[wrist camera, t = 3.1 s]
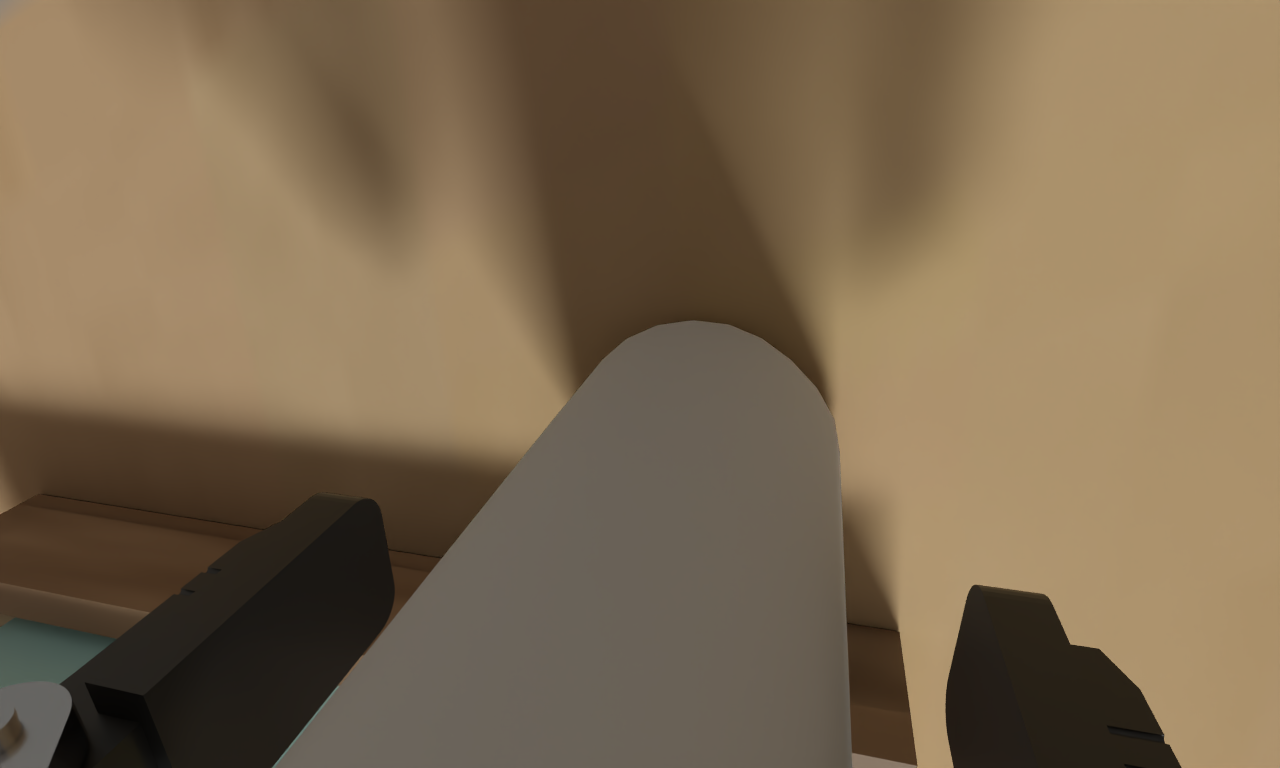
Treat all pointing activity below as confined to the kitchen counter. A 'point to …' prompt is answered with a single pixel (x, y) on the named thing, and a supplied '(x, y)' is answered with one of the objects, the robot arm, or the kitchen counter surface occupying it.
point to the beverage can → (630, 586)
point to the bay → (183, 547)
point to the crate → (54, 654)
